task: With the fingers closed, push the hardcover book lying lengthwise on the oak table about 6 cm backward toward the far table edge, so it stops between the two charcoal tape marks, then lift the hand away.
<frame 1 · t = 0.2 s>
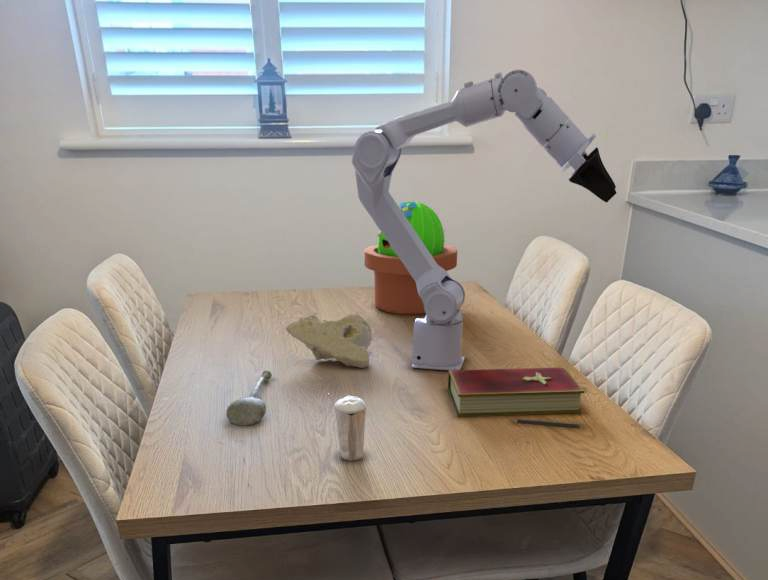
hand: (611, 194, 120), 32 cm above the table, tool tilted 50°, fingers open, 7 cm apart
potted cactus: (410, 306, 180), on the table
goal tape: (549, 404, 124), on the table
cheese: (330, 364, 143), on the table
hardcover book: (511, 402, 125), on the table, touching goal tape
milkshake: (349, 457, 107), on the table
soupspoon: (256, 401, 126), on the table
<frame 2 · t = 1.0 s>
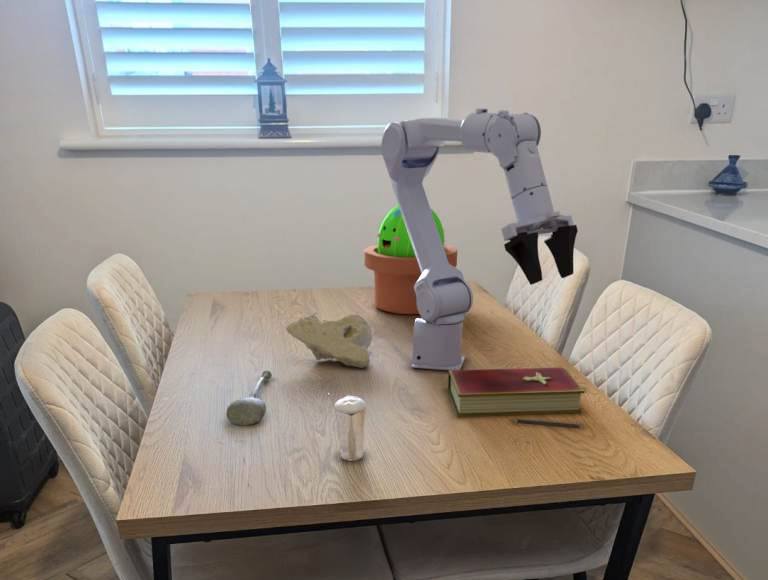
hand: (552, 279, 114), 21 cm above the table, tool tilted 30°, fingers open, 7 cm apart
nothing on the table moved.
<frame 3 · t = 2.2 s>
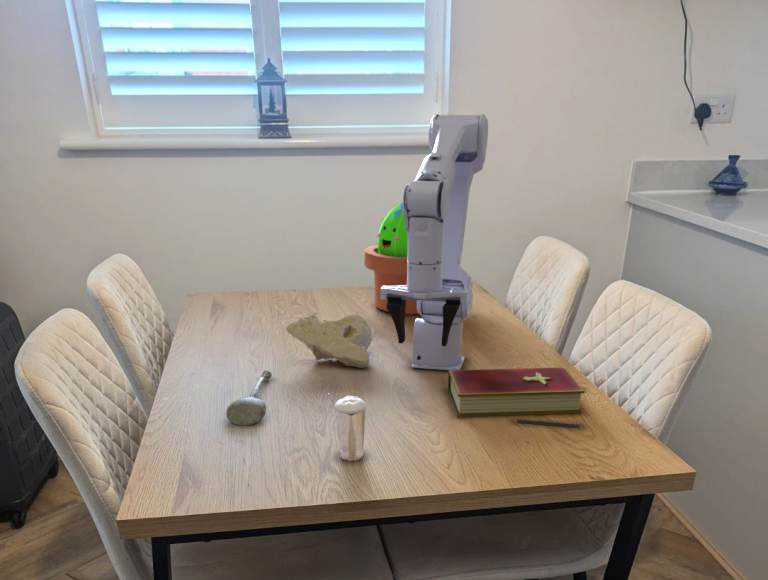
hand: (423, 343, 123), 9 cm above the table, tool pointing down, fingers open, 7 cm apart
nothing on the table moved.
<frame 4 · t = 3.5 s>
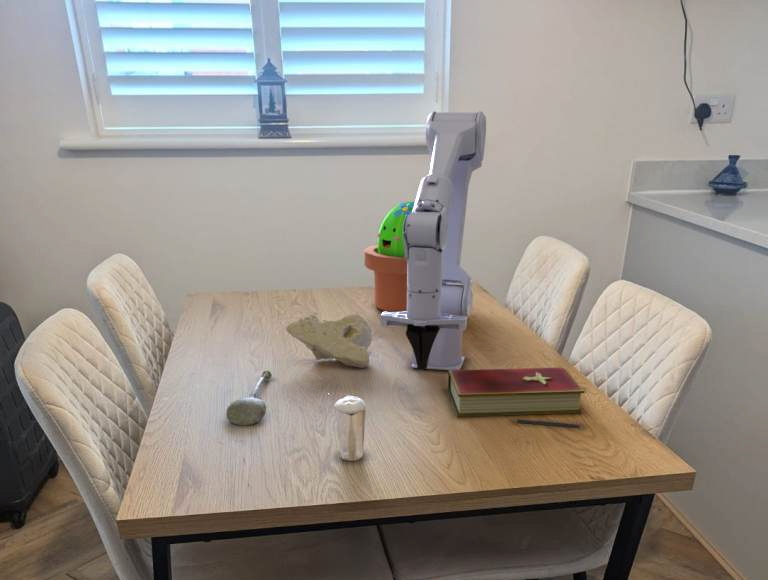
hand: (422, 368, 126), 5 cm above the table, tool pointing down, fingers closed
nothing on the table moved.
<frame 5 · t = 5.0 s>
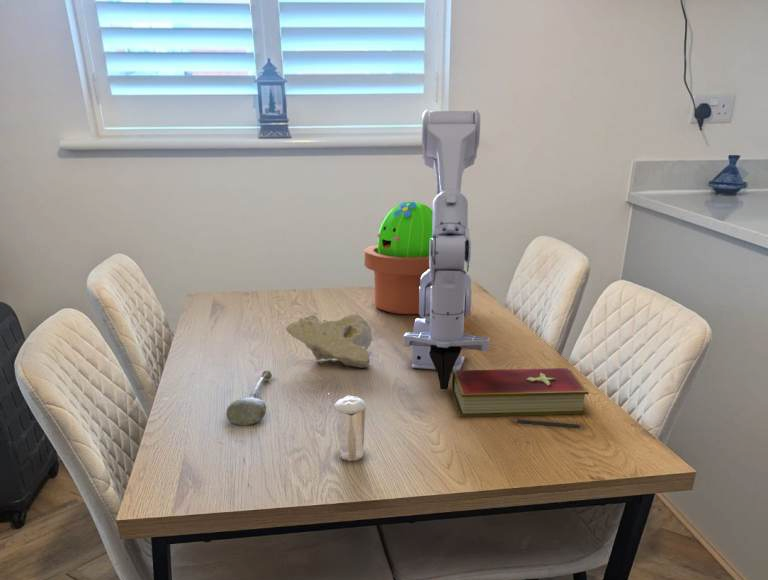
hand: (444, 387, 127), 2 cm above the table, tool pointing down, fingers closed
hardcover book: (515, 402, 125), on the table, touching gripper
everything else where it was.
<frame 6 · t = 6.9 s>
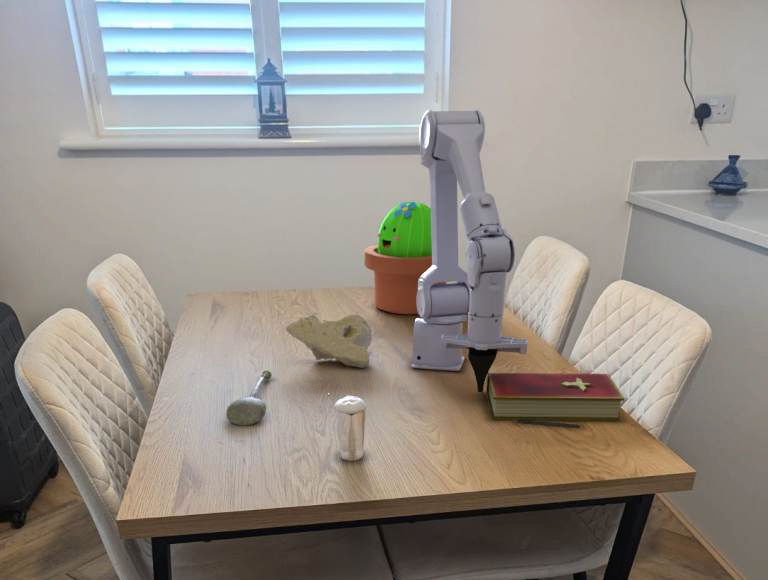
hand: (480, 390, 125), 2 cm above the table, tool pointing down, fingers closed
hardcover book: (550, 407, 123), on the table, touching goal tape, gripper
everything else where it was.
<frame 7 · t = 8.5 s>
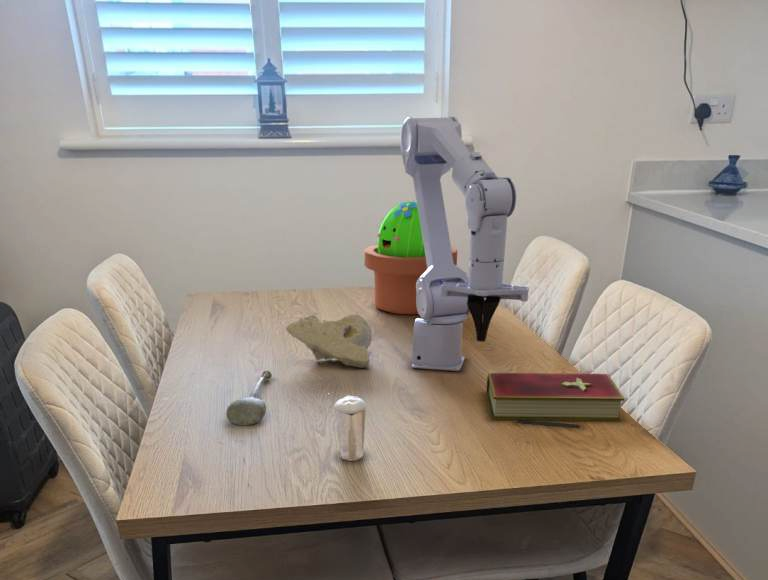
hand: (481, 339, 125), 9 cm above the table, tool pointing down, fingers closed
hardcover book: (550, 407, 123), on the table
everything else where it was.
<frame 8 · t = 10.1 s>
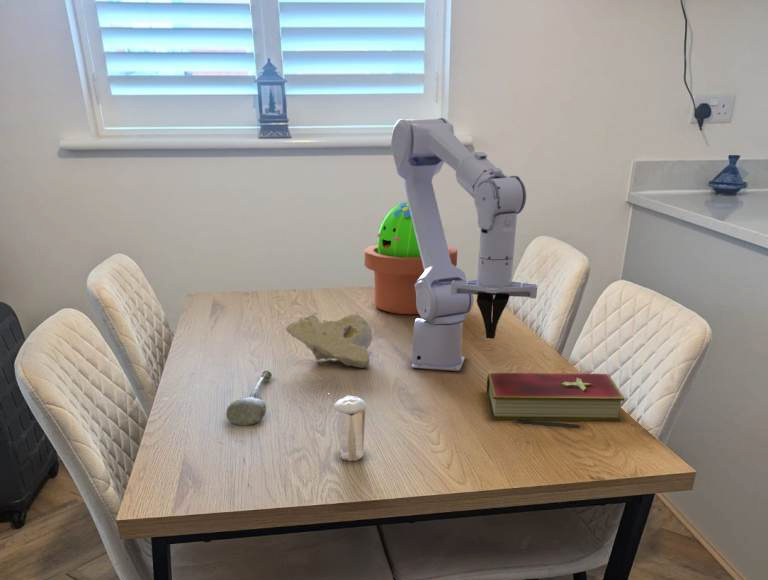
hand: (490, 336, 126), 9 cm above the table, tool pointing down, fingers closed
nothing on the table moved.
at the end: hardcover book moved 6.6 cm from its start; hardcover book inside the target area (0.8 cm from its centre), on the table; hardcover book tilted 0° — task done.
